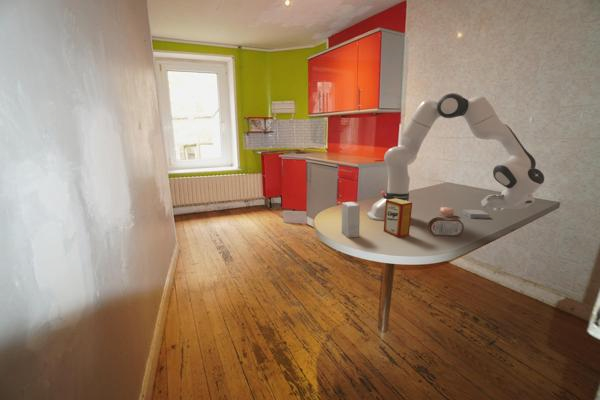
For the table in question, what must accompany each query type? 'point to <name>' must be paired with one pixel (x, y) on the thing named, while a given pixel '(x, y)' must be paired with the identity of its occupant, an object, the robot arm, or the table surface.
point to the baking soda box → (397, 217)
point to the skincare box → (350, 219)
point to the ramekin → (446, 211)
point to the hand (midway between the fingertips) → (496, 209)
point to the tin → (445, 226)
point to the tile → (475, 214)
